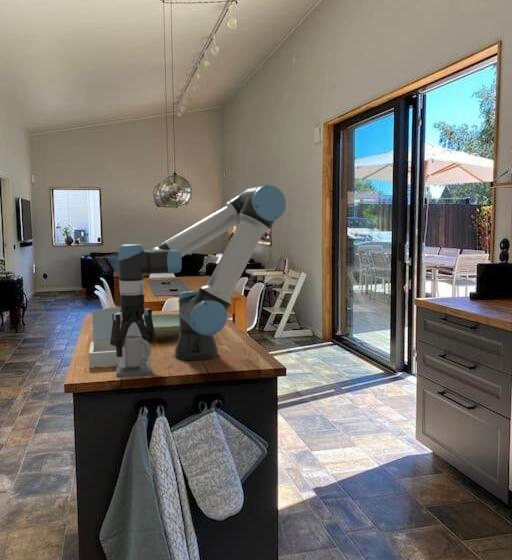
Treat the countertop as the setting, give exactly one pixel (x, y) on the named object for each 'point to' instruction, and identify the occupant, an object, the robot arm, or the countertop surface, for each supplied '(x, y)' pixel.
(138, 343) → the cup
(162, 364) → the countertop surface
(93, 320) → the cold frame
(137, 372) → the slate tile
